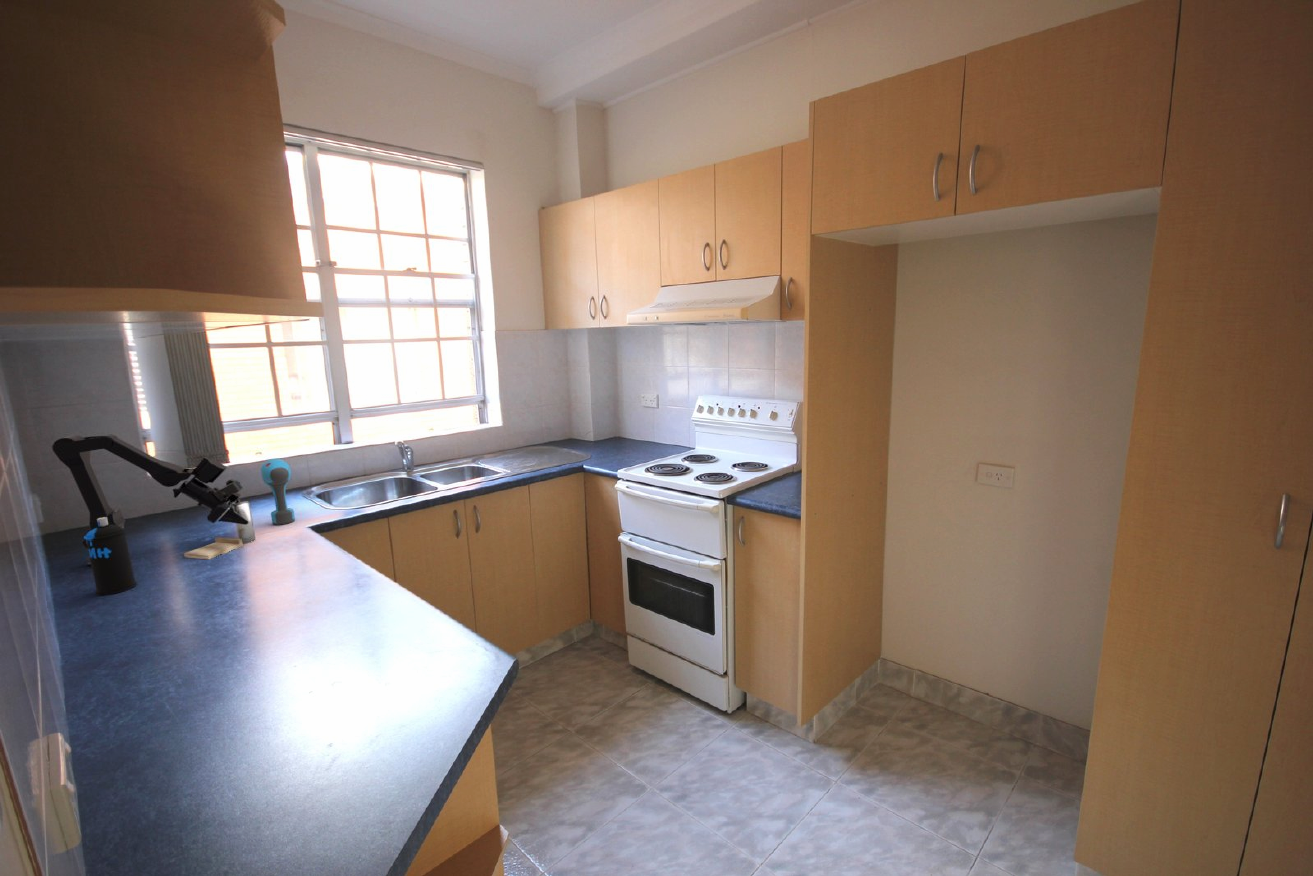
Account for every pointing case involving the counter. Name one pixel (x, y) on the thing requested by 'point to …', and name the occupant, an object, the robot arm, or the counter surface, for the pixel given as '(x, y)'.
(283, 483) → the power drill
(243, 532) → the rod
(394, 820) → the counter surface
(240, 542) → the wooden tray
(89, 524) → the robot arm
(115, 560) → the aerosol can
